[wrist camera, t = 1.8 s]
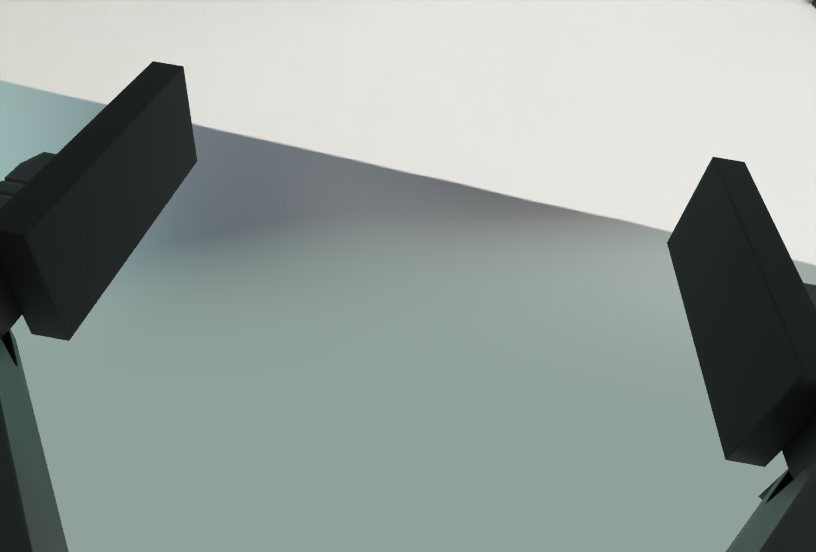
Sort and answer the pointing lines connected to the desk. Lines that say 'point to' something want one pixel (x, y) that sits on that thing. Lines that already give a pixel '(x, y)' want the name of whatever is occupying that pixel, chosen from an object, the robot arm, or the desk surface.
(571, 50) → the desk surface
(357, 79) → the desk surface
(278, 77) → the desk surface
